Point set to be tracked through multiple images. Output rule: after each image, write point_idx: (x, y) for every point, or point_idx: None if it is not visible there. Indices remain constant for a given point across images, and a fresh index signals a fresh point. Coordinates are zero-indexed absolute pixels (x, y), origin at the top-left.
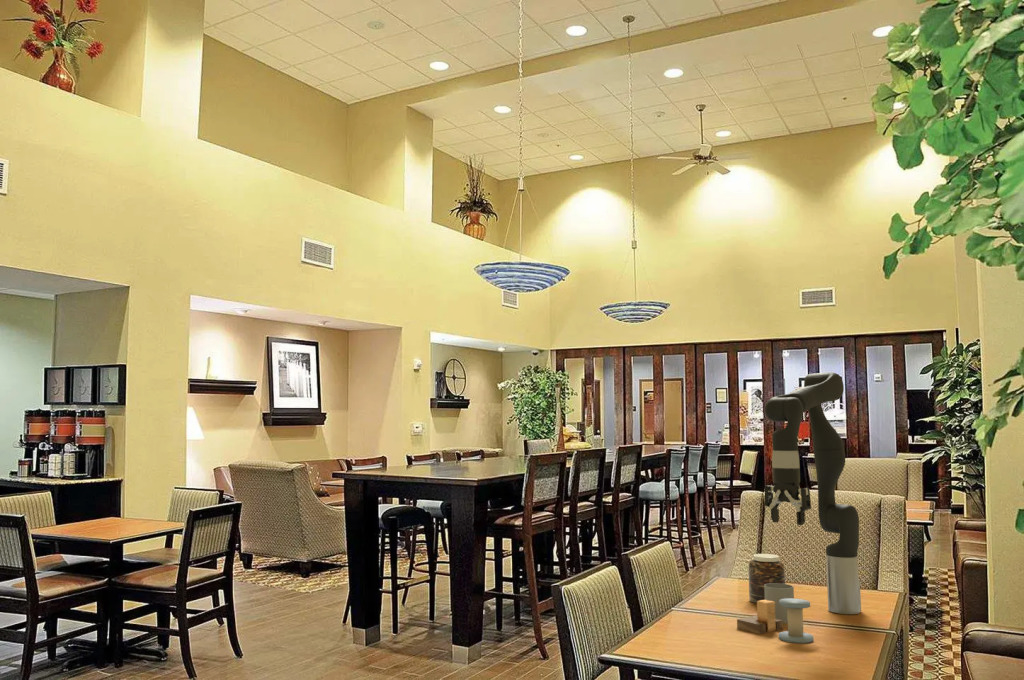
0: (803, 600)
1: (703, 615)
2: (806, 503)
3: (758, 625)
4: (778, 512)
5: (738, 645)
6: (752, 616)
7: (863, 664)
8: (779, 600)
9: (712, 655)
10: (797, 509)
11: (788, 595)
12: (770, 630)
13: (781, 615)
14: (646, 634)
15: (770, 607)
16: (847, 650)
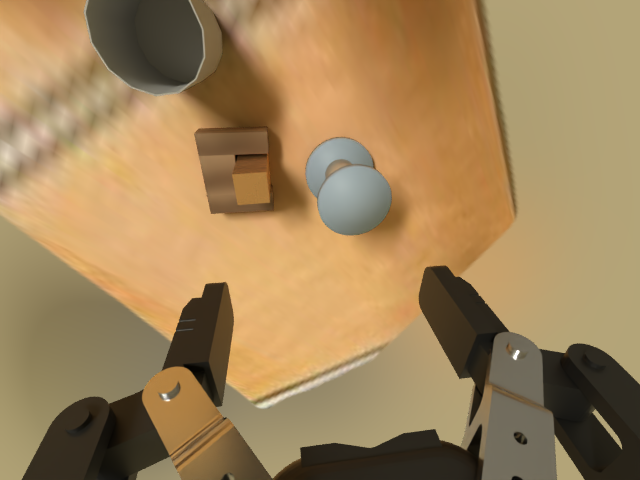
0: (362, 175)
1: (66, 181)
2: (601, 410)
3: (271, 209)
4: (216, 337)
5: (309, 279)
6: (201, 163)
7: (494, 205)
8: (326, 225)
9: (325, 332)
10: (480, 397)
11: (209, 48)
12: (269, 168)
13: (212, 71)
14: None
15: (268, 185)
16: (445, 156)
